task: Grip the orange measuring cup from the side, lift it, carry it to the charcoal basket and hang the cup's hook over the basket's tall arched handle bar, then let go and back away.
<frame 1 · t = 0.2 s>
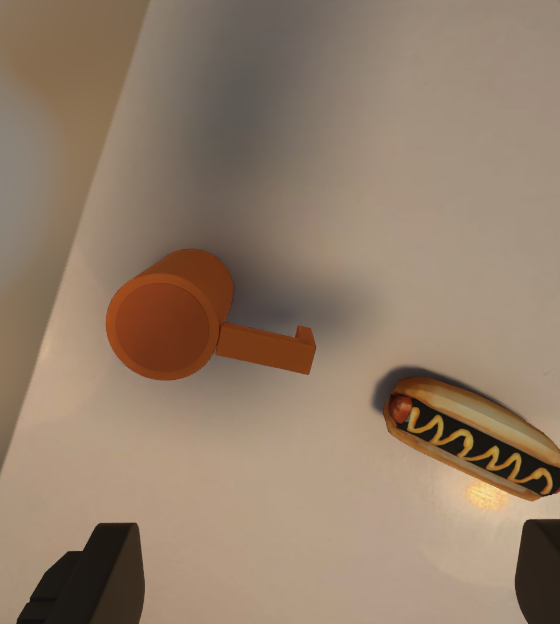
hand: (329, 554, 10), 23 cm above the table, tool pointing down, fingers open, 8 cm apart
hot dog: (457, 413, 35), on the table
measuring cup: (192, 289, 32), on the table
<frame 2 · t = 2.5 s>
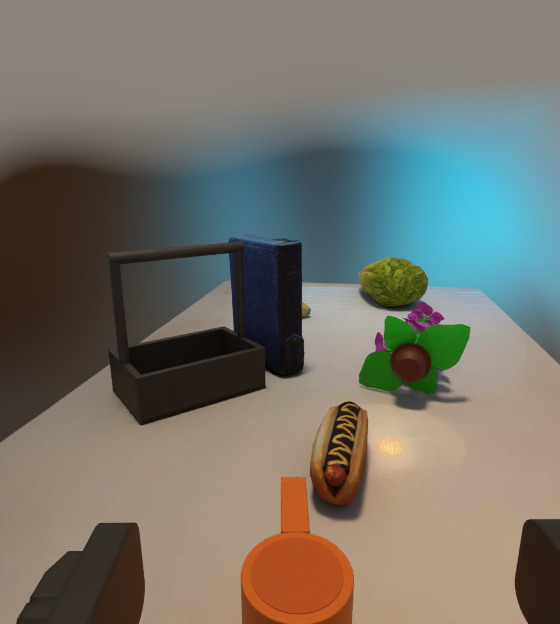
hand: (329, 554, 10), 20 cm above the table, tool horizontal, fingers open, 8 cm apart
lettuce: (384, 299, 112), on the table
book: (267, 363, 73), on the table
hot dog: (339, 474, 46), on the table
potted plant: (411, 360, 74), on the table
basket: (189, 389, 64), on the table
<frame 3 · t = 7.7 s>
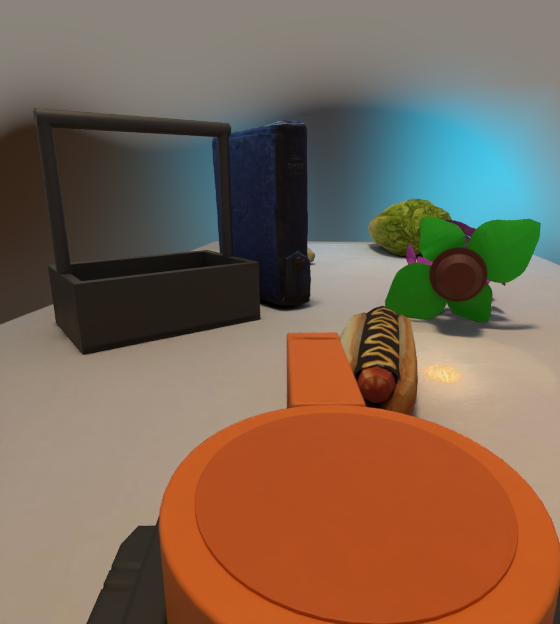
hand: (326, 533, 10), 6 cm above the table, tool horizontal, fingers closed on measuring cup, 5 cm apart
lettuce: (399, 251, 97), on the table
book: (262, 299, 57), on the table
hot dog: (372, 404, 30), on the table
potted plant: (446, 295, 58), on the table
basket: (158, 320, 48), on the table
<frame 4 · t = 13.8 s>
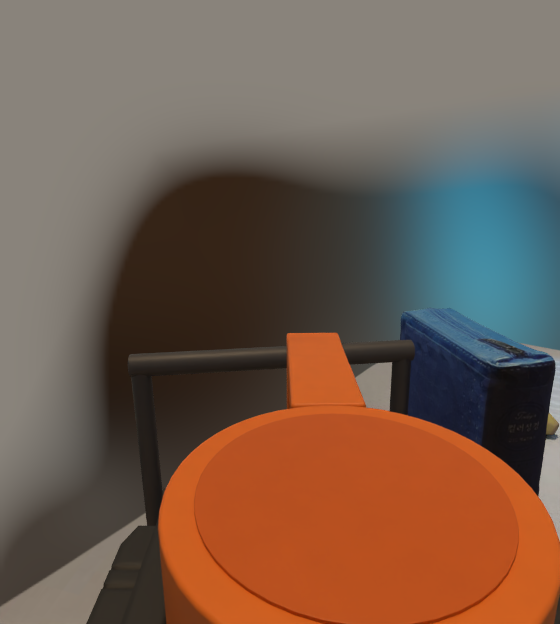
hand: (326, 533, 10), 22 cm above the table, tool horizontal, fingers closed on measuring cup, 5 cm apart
book: (448, 558, 38), on the table
basket: (279, 596, 34), on the table
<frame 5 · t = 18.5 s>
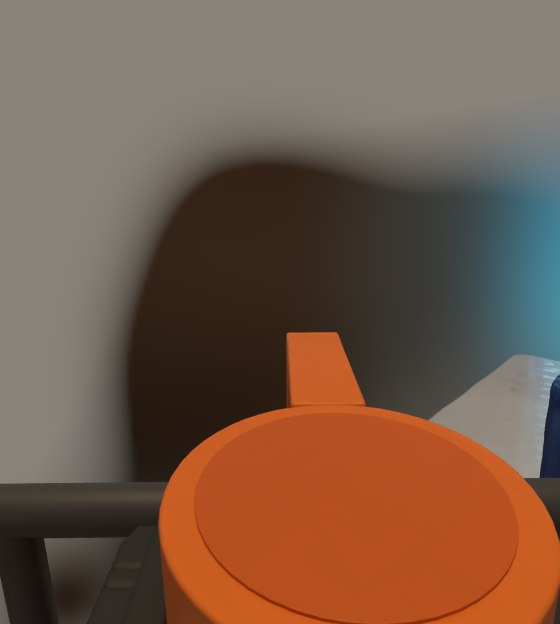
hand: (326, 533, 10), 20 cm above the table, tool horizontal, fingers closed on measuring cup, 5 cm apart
when the fingers open (17 cm above the table, at t = 20.0 s): measuring cup drops 1 cm and tips over, resting on basket.
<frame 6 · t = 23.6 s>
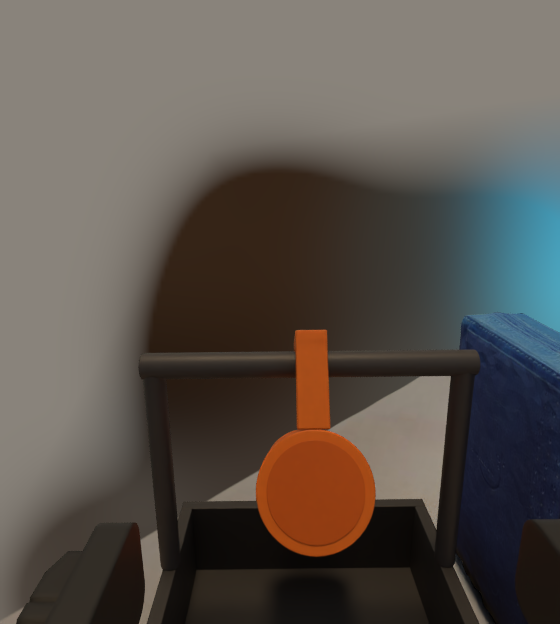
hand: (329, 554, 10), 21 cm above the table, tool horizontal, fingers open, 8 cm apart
book: (510, 610, 32), on the table
measuring cup: (306, 472, 30), point 10 cm above the table, tilted 61°, touching basket
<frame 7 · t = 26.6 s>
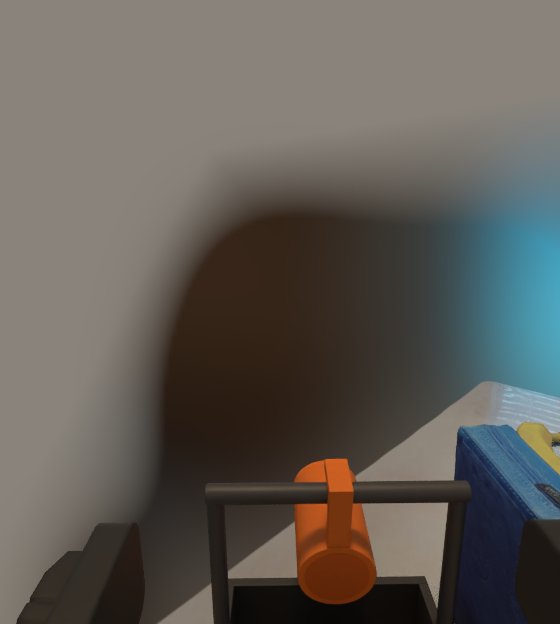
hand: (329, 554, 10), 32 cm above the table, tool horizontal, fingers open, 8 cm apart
banana: (559, 475, 65), on the table
measuring cup: (324, 485, 41), point 14 cm above the table, tilted 96°, touching basket
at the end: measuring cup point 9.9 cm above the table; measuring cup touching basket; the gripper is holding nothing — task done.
